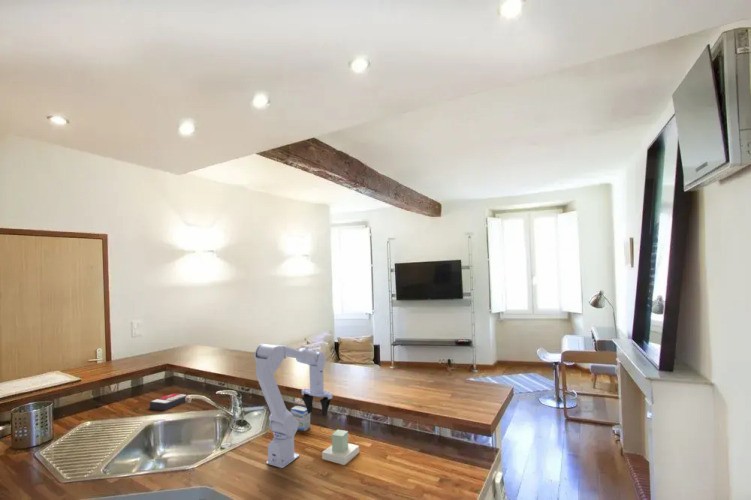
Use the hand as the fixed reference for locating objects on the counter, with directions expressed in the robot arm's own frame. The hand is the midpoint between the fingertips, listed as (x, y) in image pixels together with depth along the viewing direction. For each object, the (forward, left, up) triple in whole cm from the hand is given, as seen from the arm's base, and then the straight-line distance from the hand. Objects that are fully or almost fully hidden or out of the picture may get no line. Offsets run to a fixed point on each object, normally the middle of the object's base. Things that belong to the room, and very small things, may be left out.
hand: (317, 414), depth 152 cm
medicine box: (+6, +14, -11) cm, 19 cm away
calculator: (0, +99, -11) cm, 100 cm away
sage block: (-7, -16, -8) cm, 19 cm away
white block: (-7, -16, -11) cm, 21 cm away
